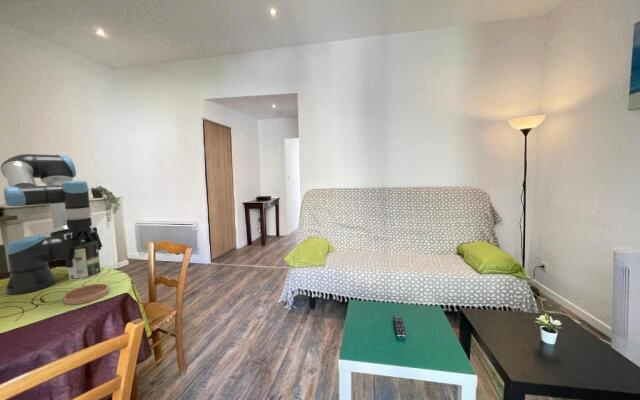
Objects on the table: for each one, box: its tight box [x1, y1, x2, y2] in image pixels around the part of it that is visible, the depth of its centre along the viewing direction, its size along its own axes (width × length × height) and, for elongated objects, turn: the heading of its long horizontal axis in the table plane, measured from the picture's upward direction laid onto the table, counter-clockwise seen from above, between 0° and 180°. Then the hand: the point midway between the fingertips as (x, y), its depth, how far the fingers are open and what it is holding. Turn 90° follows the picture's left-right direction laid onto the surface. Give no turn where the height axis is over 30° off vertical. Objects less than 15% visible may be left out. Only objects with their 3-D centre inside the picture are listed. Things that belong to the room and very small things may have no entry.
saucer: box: [61, 283, 111, 306], centre depth 109 cm, size 15×15×2 cm
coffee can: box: [68, 241, 102, 282], centre depth 108 cm, size 10×10×14 cm
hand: (84, 269), depth 108 cm, fingers closed on coffee can, 10 cm apart
